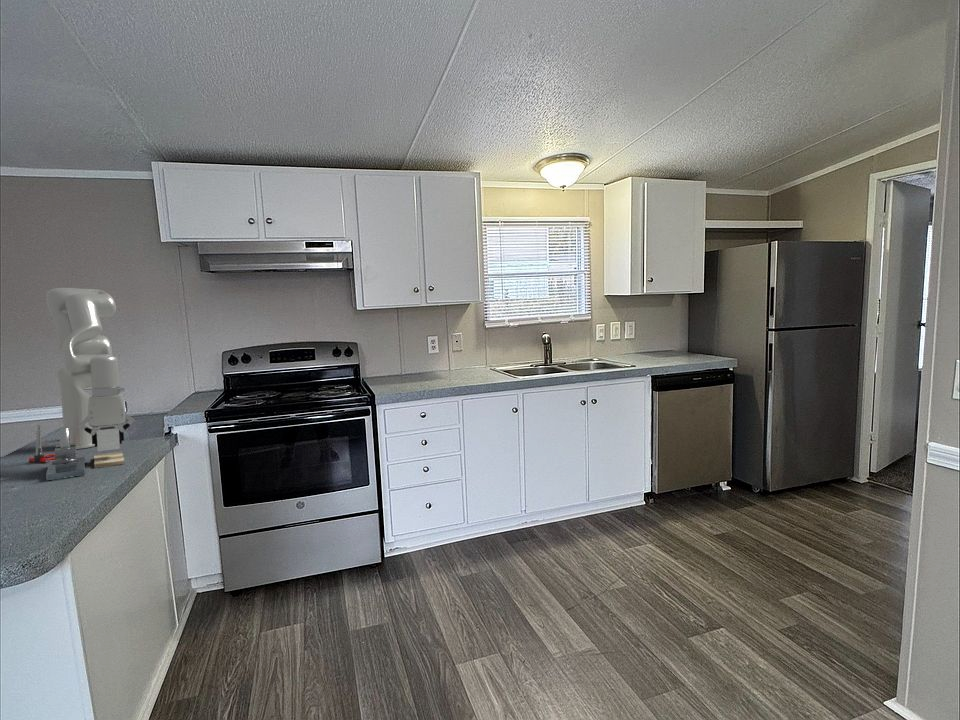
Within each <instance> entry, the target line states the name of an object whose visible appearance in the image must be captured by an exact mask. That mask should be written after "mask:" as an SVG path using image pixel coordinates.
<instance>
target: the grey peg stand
mask: <svg viewBox="0 0 960 720" xmlns="http://www.w3.org/2000/svg"><path fill="white" fill-rule="evenodd" d="M59 443H60V444H56V445H55V448H54V454H55V457H54V458H55V461H49V462H48V467H47V470H46V474H45V478H46V479H45V480H46V481H45V482H48V481H47V480H52V481H55V480H54V479H58V480H60V479H59V478H64V477H70V476H79V477H81V476H80V475H86V474H85V472H86V461H85V460H86V456H80V457H77V449H76V443H71V444H70V430H69V427H65V428H63V427H60V428H59Z"/></svg>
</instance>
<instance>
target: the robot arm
mask: <svg viewBox="0 0 960 720" xmlns="http://www.w3.org/2000/svg"><path fill="white" fill-rule="evenodd" d="M45 297H46V298H45V299H46V300H45V302H46V307H47V310H48V311H49V314H50V315H51V317H52V320H53V322H54V324H55V328H56V329H55V330H56V337H57V345H58V351H59V354H60V357H61V358H62V363H63V365H62V366H60V367H59V368H58V369H57V372H56V378H57V382H58V386H59V392H60V397H61V400H60V401H61V411H62V412H61V413H62V428H65V427H69V430H70V444H71V443H76V450H81V449H82V450H83V449H86V448H87V449H88V448H92V447H95V448H97V428H98V427H107V426H118V428H119V441H120V445H122V444H123V443H122V442H124V441H125V437H124V436H125V433H124V432H125V431H126V430H127V429H128V428H129V427H130V426H131V425H132V424H133V423H134V422H136V420H135V419H134V418H133V417H132V416H131V415H129V414H127V412H126V409H125V402H124V398H123V395H122V394H121V393H125V387H121V386H120V378H119V361H118V358H117V357H116V356H114V355H113V347H112V343H111V341H110V339H109V338H108V337H107V336H105V335H101V334H102V332H103V326H102V322H101V319H100V318H103V317H106V318H108V317H109V318H110V317H113V316H114V315H115V314H116V311H117V306H116V305H117V304H116V301H115V300H114V298H113V296H112V295H110V293H107V292H106V291H104V290H103V289H97V288H78V287H57V288H52V289H49V290H48V291H47V293H46V296H45ZM90 388H91V394H90V393H89V392H87V391H86V390H85V389H90ZM126 420H127V421H126ZM124 423H125V424H124Z"/></svg>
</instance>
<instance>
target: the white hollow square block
mask: <svg viewBox="0 0 960 720" xmlns="http://www.w3.org/2000/svg"><path fill="white" fill-rule="evenodd" d="M96 434H97V447H96V448H97V452H105V451H112V450H119V449H121V444H120V441H119V428H118V426H117V425H110V426H100V427H98V428H97V431H96Z"/></svg>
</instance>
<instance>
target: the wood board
mask: <svg viewBox="0 0 960 720" xmlns="http://www.w3.org/2000/svg"><path fill="white" fill-rule="evenodd" d="M93 459H94V460H93V462H94V463H93V465H94V469H98V468H97V467H100V468H105V467H104V466H107V467H111V466H113V465H114V466H120V464H121V465H126V464H125V458H124V454H123V451H117V452H110V453H102V454H95V455H93ZM114 466H113V467H114Z"/></svg>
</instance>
